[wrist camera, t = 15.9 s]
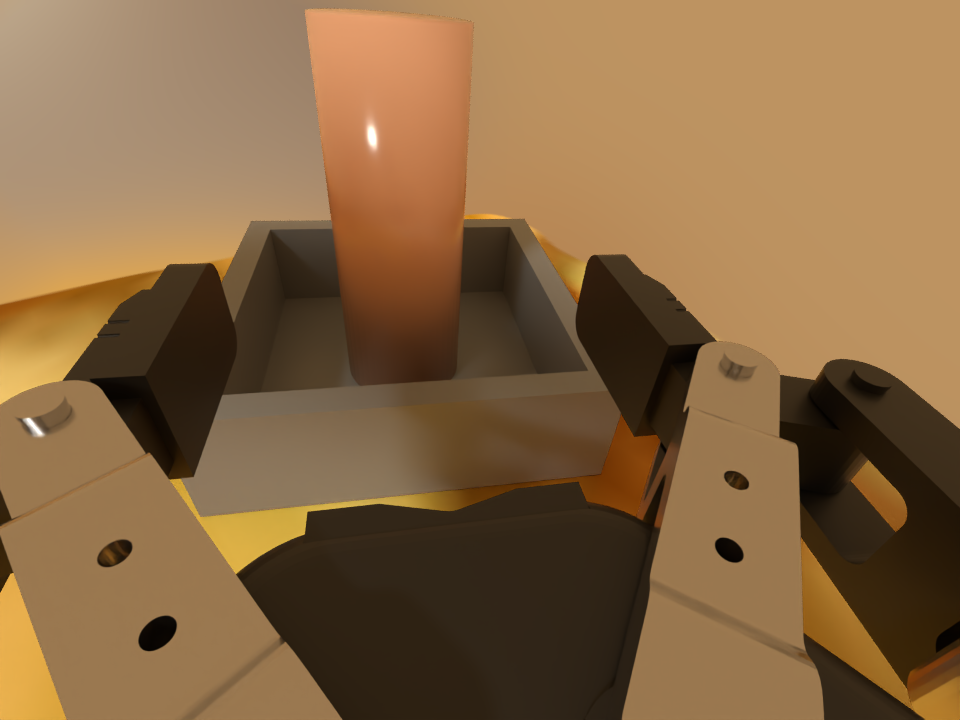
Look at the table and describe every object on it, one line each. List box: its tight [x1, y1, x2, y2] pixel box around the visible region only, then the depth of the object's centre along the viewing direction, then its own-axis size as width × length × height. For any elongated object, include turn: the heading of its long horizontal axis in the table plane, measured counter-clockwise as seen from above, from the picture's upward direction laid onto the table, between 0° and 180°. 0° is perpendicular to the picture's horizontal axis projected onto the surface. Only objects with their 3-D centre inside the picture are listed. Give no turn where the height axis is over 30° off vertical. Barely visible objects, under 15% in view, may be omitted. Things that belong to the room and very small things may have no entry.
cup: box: [305, 8, 474, 386], centre depth 21 cm, size 6×6×15 cm
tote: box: [181, 219, 621, 517], centre depth 24 cm, size 16×16×5 cm
